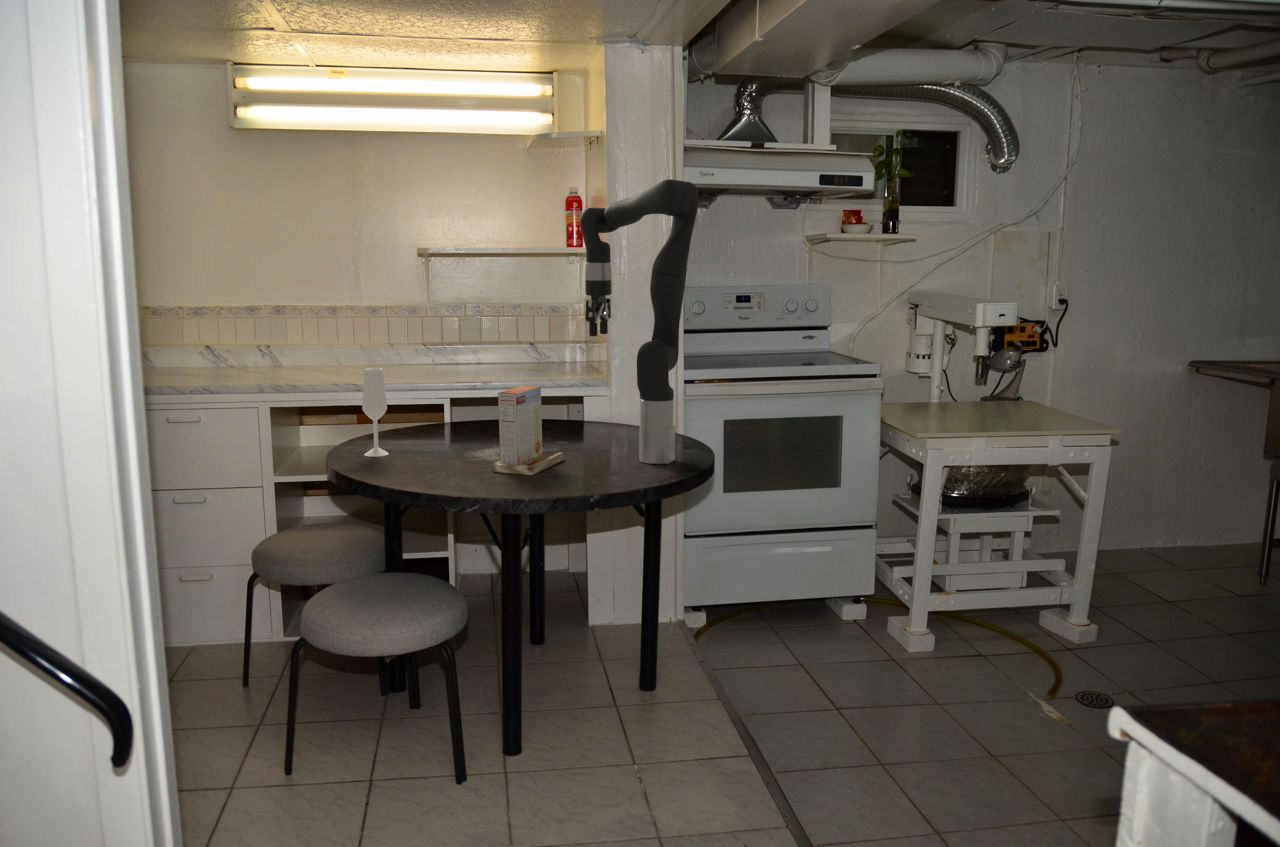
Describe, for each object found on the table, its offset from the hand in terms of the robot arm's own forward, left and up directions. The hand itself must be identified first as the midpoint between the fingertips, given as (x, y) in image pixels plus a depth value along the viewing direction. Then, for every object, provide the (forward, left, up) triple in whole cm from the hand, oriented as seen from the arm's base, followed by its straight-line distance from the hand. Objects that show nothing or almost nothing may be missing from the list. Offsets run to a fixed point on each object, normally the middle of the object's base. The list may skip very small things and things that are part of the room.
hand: (598, 335), depth 285 cm
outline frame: (+7, +32, -33) cm, 47 cm away
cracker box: (+9, +34, -33) cm, 48 cm away
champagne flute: (+53, +34, -33) cm, 72 cm away
